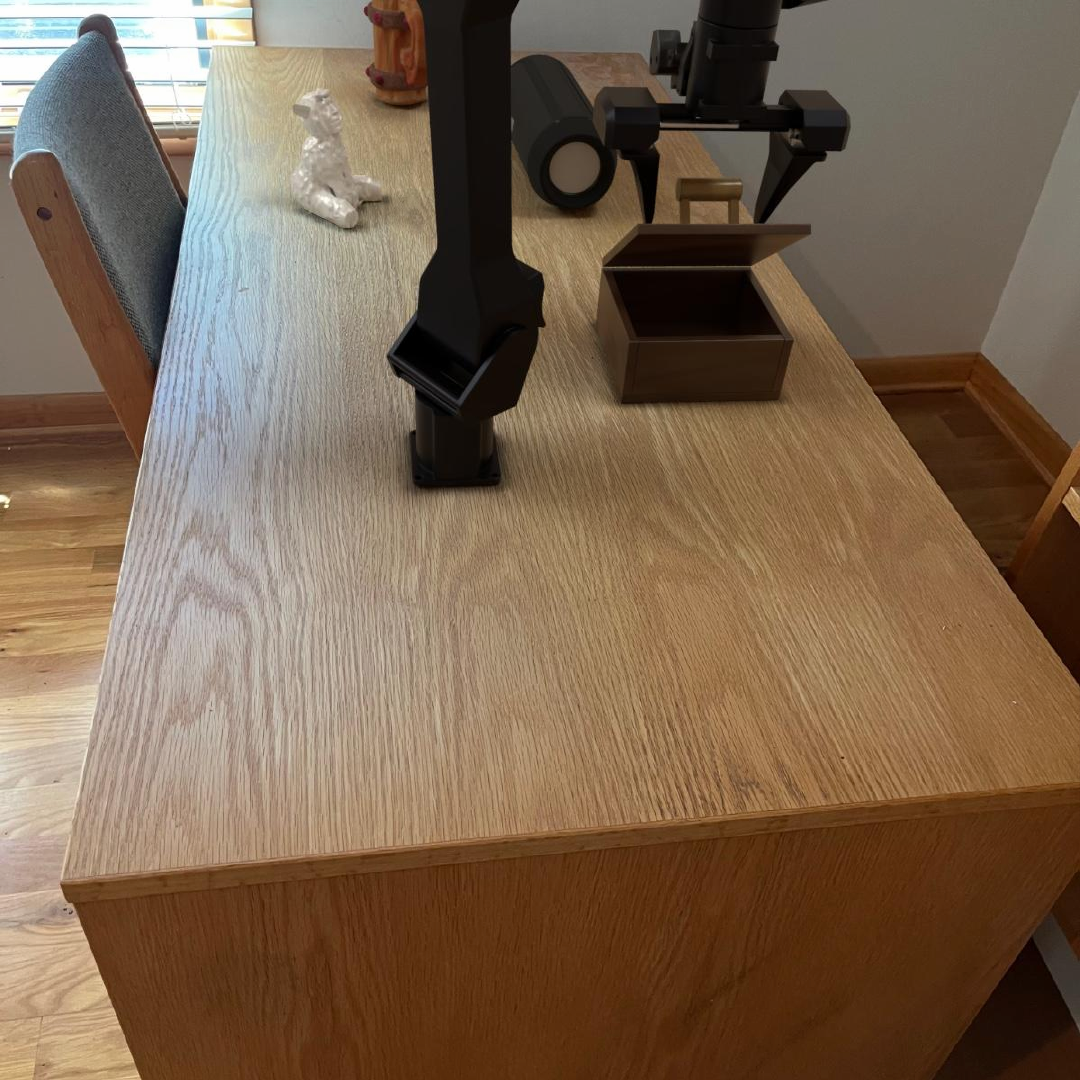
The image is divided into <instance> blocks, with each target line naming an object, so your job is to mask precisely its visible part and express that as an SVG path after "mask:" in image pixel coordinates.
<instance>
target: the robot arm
mask: <svg viewBox="0 0 1080 1080" xmlns="http://www.w3.org/2000/svg"><path fill="white" fill-rule="evenodd" d="M416 1H417V3H418V5H419V7H420V10H421V13H422V17H423V22H424V36H425V52H426V69H427V85H428V86H427V99H428V112H429V113H428V114H429V132H430V133H429V134H430V147H431V149H430V150H431V165H432V181H433V196H434V212H435V229H436V231H435V232H436V249H435V251H434V252H433V254H432V256H431V258H430V260H429V261H428V263H427V264H426V267H425V268H424V270H423V272H422V274H421V275H420V278H419V281H418V282H419V283H418V297H417V309H416V310H415V311H414V313H413V314H412V316H411V318H410V319H409V320H408V322H407V324H406V325H405V327H404V328H403V329H402V331H401V332H400V334H399V335H398V336H397V338H396V340H395V341H394V342H393V344H392V345H391V347H390V349H389V350H388V352H387V353H386V360H387V362H388V364H389V367H390V369H391V371H392V373H393V375H394V376H395V377H396V378H398V379H402V380H403V381H404V382H406V383H407V384H408V385H409V386H411V387H412V388H414V412H415V413H414V414H415V415H414V417H415V419H414V420H415V429H413V430H410V431H409V446H410V462H411V463H410V464H411V479H412V481H411V482H412V485H414V486H416V487H436V486H442V487H443V486H468V485H469V486H470V485H471V486H472V485H496V484H499V483H501V481H502V472H501V471H502V470H501V466H500V465H501V464H500V459H499V452H498V447H497V441H496V436H495V430H494V425H495V423H494V420H495V416H498V415H500V414H502V413H505V412H507V411H509V410H512V409H513V408H516V407H517V405H518V403H519V401H520V397H521V394H522V391H523V389H524V385H525V383H526V379H527V377H528V374H529V370H530V368H531V365H532V362H533V358H534V355H536V351H537V348H538V343H539V336H540V330H539V329H540V328H542V329H545V327H546V326H547V323H546V320H545V317H544V313H543V302H544V301H543V300H544V295H545V289H546V285H545V279H544V275H543V273H542V272H541V271H539V270H538V269H536V268H534V267H532V266H531V265H529V264H527V263H525V262H524V261H522V260H520V259H518V258H517V257H516V254H515V251H514V246H513V157H512V156H513V153H512V151H513V150H512V147H513V146H512V145H513V142H512V129H511V65H512V18H513V14H514V12H515V10H516V8H517V6H518V4H519V3H520V1H521V0H416ZM827 1H829V0H699V4H698V13H697V17H696V19H697V20H693V22H692V27H691V28H690V35H689V40H688V41H687V42H684V41H683V42H682V35H681V31H680V30H679V29H655V30H653V31H652V36H651V43H650V49H649V63H648V70H649V74H650V75H651V76H666V77H667V76H669V77H670V87H669V88H670V89H671V90H675V92H676V94H677V95H678V96H679V97H685V99H684V102H681V103H680V102H657V101H656V100H655V98H654V96H653V95H652V93H651V91H650V90H649V88H648V86H603V87H602V88H601V89H600V90H599V91H598V92H597V94H596V96H595V97H594V102H593V107H594V111H593V124H594V126H595V128H596V130H597V133H598V135H599V137H600V139H601V141H602V143H603V146H604V147H607V148H610V149H613V150H616V151H617V156H618V158H619V159H621V160H622V161H627V162H628V161H629V163H630V166H631V169H632V172H633V177H634V182H635V187H636V192H637V197H638V202H639V206H640V207H639V208H640V212H641V218H642V224H653V221H654V217H655V214H656V213H655V212H656V202H657V190H658V182H659V171H660V170H659V169H660V159H661V154H660V152H659V150H658V149H657V147H656V145H655V144H656V142H657V141H659V138H660V132H665V131H666V132H733V133H735V132H740V133H743V132H746V133H747V132H749V133H750V132H751V133H752V132H753V133H769V137H768V139H769V140H768V155H767V159H766V164H765V167H764V171H763V175H762V179H761V183H760V187H759V190H758V193H757V198H756V201H755V206H754V213H753V219H752V220H753V221H752V224H766V222H767V221H768V220H769V219H770V217H771V216H772V214H773V213H774V211H775V210H776V209H777V208H778V206H779V205H780V203H782V201H783V199H784V198H785V197H786V196H787V195H788V193H789V192H790V190H791V189H792V188H793V187H794V186H795V185H796V184H797V183H798V181H799V180H800V179H801V178H802V177H803V176H804V175H805V174H806V173H807V172H808V171H809V170H810V168H811V167H812V166H813V165H814V164H815V163H822V162H823V163H824V162H826V160H827V158H828V152H838V153H839V152H843V151H844V150H846V147H847V144H848V140H849V137H850V132H851V128H852V127H851V116H850V114H849V112H848V111H847V109H846V108H845V107H843V105H841V104H840V102H839V101H837V100H836V98H835V97H834V96H833V95H832V94H830V92H829V91H828V90H826V89H824V90H823V89H784V91H783V92H782V93H781V95H779V98H778V102H777V104H766V102H765V101H764V97H765V93H766V87H767V82H768V76H769V71H770V67H771V63H772V62H777V61H778V55H779V51H780V45H779V44H778V43H777V42H776V36H777V31H778V26H779V21H780V16H781V12H782V11H781V10H792V9H796V8H801V7H804V6H811V5H814V4H819V3H823V2H827Z"/></svg>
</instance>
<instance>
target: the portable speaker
mask: <svg viewBox="0 0 1080 1080" xmlns="http://www.w3.org/2000/svg"><path fill="white" fill-rule="evenodd" d="M593 111H594V105H593V103H592V102H591V101H590V99H589V98H588V96H587V95H586V93H585V91H584V90H583V88H582V87H581V85H580V84H579V82H578V80H577V79H576V78H575V76H574V75H573V73H572V72H571V70H570V69H569V68H568V67H567V66H566V64H565V63H563V62H562V61H561V60H559V59H558V58H555V57H553V56H551V55H549V54H537V53H536V54H530V55H527V56H524V57H521V58H519V59H518V60H516V61H515V62H513V63H511V129H512V145H513V146H514V148H515V151H516V154H517V156H518V158H519V160H520V161H521V162H520V163H521V164H522V166H523V169H524V172H525V173H526V176H527V178H528V181H529V183H530V186H531V188H532V190H533V191H534V193H535V194H536V195H537V196H538V197H539V198H540V199H541V200H542V201H543V202H545V203H546V204H548V205H550V206H552V207H556V208H558V209H564V210H568V211H579V210H583V209H586V208H589V207H591V206H593V205H595V204H597V203H598V202H599V201H601V199H603V198H604V196H605V195H606V194H607V193H608V191H609V190H610V188H611V187H612V184H613V182H614V180H615V179H614V178H615V175H616V172H617V167H618V153H617V151H616V150H613V149H610V148H607V147H604V146H603V143H602V141H601V139H600V137H599V135H598V133H597V130H596V128H595V126H594V124H593Z"/></svg>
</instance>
